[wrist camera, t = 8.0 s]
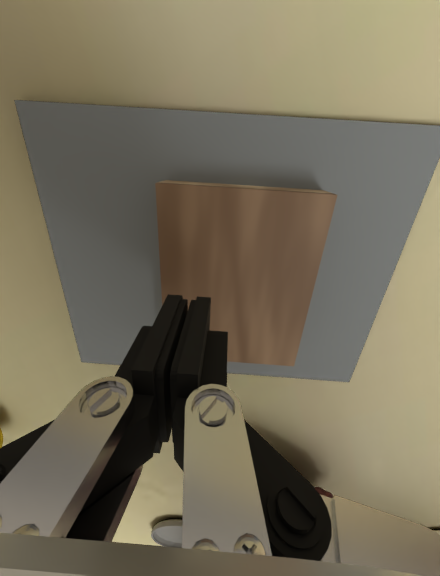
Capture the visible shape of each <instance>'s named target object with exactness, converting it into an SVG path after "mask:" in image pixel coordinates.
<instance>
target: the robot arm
mask: <svg viewBox="0 0 440 576" xmlns="http://www.w3.org/2000/svg"><path fill="white" fill-rule="evenodd" d="M210 310H211V297H198V296H197V298H196V300H191V302H190V305H189V309H188V300H187V299H183V296H182V295H170V294H168V295H167V297H166V299H165V301H164V303H163V305H162V307H161V309H160V311H159V313H158V315H157V317H156V319H155V322H154V324H153V326H142V328H141V329H140V331H139V333H138V335H137V337H136V338H135V340H134V342H133V344H132V346H131V347H130V349H129V351H128V353H127V355H126V357H125V358H124V360H123V362H122V364H121V366H120V368H119V369H118V371H117V373H116V375H115V377H112V376H111V377H104V378H100V379H98V380H95V381H93V382H91V383H90V384H88V385H86V386H85V387H84V388H83V389H82V390H81V391H79V392H78V394H77V395H76V396H75V397H74V398H73V399H72V401H71V402H70V403H69V404H68V405H67V406H66V408H65V409H64V410H63V411H62V412H61V413H60V415H59V416H58V417H57V418H56V419H55V420H53V421H52V422H50V423H48V424H46V425H44V426H42V427H40V428H38V429H36V430H34V431H32V432H30V433H28V434H27V435H25V436H23V437H21V438H19V439H17V440H15V441H13V442H11V443H9V444H7V445H5V446H3V447H2V448H0V576H440V530H431V529H429V528H427V527H425V526H423V525H421V524H418V523H415V522H412V521H409V520H406V519H403V518H400V517H397V516H395V515H392V514H389V513H386V512H383V511H380V510H377V509H374V508H371V507H368V506H365V505H363V504H360V503H357V502H354V501H351V500H348V499H345V498H342V497H339V496H336V495H334V496H333V498H329V497H326V496H323V495H321V494H319V493H318V492H317V490H316V489H315V488H314V487H313V486H312V485H311V484H310V483H309V482H308V481H307V480H306V479H305V478H304V477H303V476H302V475H301V474H300V473H299V472H298V471H297V470H296V469H295V468H294V467H293V466H292V465H290V464H289V463H288V462H287V461H286V460H285V459H284V458H283V457H282V456H281V455H280V454H279V453H278V452H277V451H276V450H275V449H274V448H273V447H272V446H271V445H270V444H269V443H268V442H266V441H265V440H264V439H263V438H262V437H261V436H260V435H259V434H258V433H257V432H256V431H255V430H254V429H253V428H252V427H251V426H250V425H249V424H248V423H247V422H246V421H245V420H244V417H243V412H242V408H241V404H240V401H239V399H238V397H237V396H236V394H235V393H234V392H233V391H232V390H230V389H229V388H227V349H228V332H225V331H211V330H210ZM171 429H172V436H173V443H174V459H175V460H176V462H177V463H178V465H179V466H180V468H181V469H182V470H183V472H184V476H183V523H182V548H175V547H164V546H152V545H141V544H129V543H117V542H112V539H113V537H114V535H115V532H116V530H117V528H118V525H119V523H120V521H121V519H122V516H123V514H124V512H125V509H126V507H127V505H128V502H129V500H130V498H131V495H132V493H133V491H134V488H135V486H136V484H137V481H138V479H139V477H140V475H141V471H142V468H143V464H144V463H145V462H147V461H148V460H149V459H151V458H152V457H153V453H160V450H161V446H162V442H168V441H169V438H170V433H171Z"/></svg>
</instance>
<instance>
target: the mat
mask: <svg viewBox="0 0 440 576" xmlns="http://www.w3.org/2000/svg"><path fill="white" fill-rule="evenodd" d="M14 101H15V105H16V108H17V112H18V116H19V120H20V124H21V128H22V132H23V136H24V140H25V143H26V147H27V151H28V155H29V159H30V163H31V167H32V171H33V175H34V179H35V182H36V186H37V190H38V194H39V198H40V202H41V206H42V210H43V214H44V218H45V221H46V225H47V229H48V233H49V237H50V241H51V245H52V249H53V253H54V257H55V260H56V264H57V268H58V272H59V276H60V280H61V284H62V288H63V292H64V296H65V299H66V303H67V307H68V311H69V315H70V319H71V323H72V327H73V331H74V335H75V338H76V342H77V346H78V350H79V354H80V358H81V362H86V363H99V364H113V365H121V364H122V362H123V360H124V358H125V357H126V355H127V353H128V351H129V349H130V347H131V346H132V344H133V342H134V340H135V338H136V337H137V335H138V333H139V331H140V329H141V328H142V326H153V324H154V322H155V319H156V317H157V315H158V313H159V311H160V309H161V307H162V294H161V276H160V258H159V240H158V223H157V205H156V187H155V183H157V182H161V181H165V180H172V181H187V182H203V183H218V184H234V185H249V186H265V187H280V188H296V189H311V190H324V191H327V192H330V193H333V194H336V195H337V199H336V203H335V207H334V211H333V215H332V219H331V223H330V227H329V231H328V235H327V239H326V242H325V246H324V250H323V254H322V258H321V262H320V266H319V270H318V274H317V278H316V282H315V286H314V290H313V294H312V298H311V302H310V305H309V309H308V313H307V317H306V321H305V325H304V329H303V333H302V337H301V341H300V345H299V349H298V353H297V357H296V361H295V365H294V366H281V365H268V364H254V363H241V362H227V373H233V374H246V375H260V376H273V377H287V378H300V379H313V380H327V381H340V382H349V381H350V379H351V377H352V374H353V372H354V369H355V367H356V364H357V362H358V359H359V357H360V354H361V352H362V349H363V347H364V344H365V342H366V339H367V337H368V334H369V332H370V329H371V327H372V324H373V322H374V319H375V317H376V314H377V312H378V309H379V307H380V305H381V302H382V300H383V297H384V295H385V292H386V290H387V287H388V285H389V282H390V280H391V277H392V275H393V272H394V270H395V267H396V265H397V262H398V260H399V257H400V255H401V252H402V250H403V247H404V245H405V242H406V240H407V237H408V235H409V232H410V230H411V228H412V225H413V223H414V220H415V218H416V215H417V213H418V210H419V208H420V205H421V203H422V200H423V198H424V195H425V193H426V190H427V188H428V185H429V183H430V180H431V178H432V175H433V173H434V170H435V168H436V165H437V163H438V160H439V158H440V126H436V125H420V124H403V123H387V122H370V121H354V120H337V119H321V118H304V117H288V116H271V115H255V114H238V113H222V112H205V111H189V110H172V109H155V108H139V107H122V106H106V105H89V104H73V103H56V102H40V101H23V100H14Z"/></svg>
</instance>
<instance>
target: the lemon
mask: <svg viewBox="0 0 440 576" xmlns="http://www.w3.org/2000/svg"><path fill="white" fill-rule="evenodd" d="M2 444H3V434H2V431H1V428H0V448H2Z"/></svg>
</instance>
